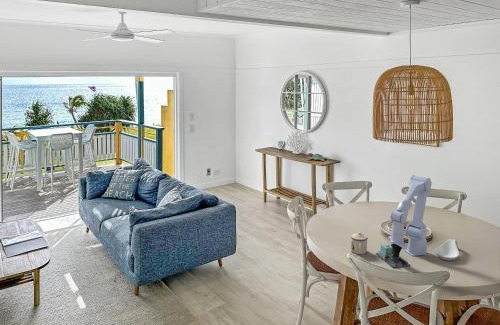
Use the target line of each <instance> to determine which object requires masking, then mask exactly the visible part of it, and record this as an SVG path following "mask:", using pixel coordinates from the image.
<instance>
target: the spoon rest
mask: <svg viewBox="0 0 500 325" xmlns="http://www.w3.org/2000/svg"><path fill="white" fill-rule="evenodd" d="M458 248H459V245H458V241H457V239H452V238H448V239H447V240H446V241H445V242H443V243H442V244H440V245H439V246H438V247H435V249H434V253H435V255H436V256H437V257H438V258H440V259H441V260H444V261H453V260H456V259H458V257H459V256H460V252H459V249H458Z"/></svg>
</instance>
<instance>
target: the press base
mask: <svg viewBox="0 0 500 325" xmlns="http://www.w3.org/2000/svg"><path fill="white" fill-rule="evenodd" d="M375 255H376V256H377V257H378V258H380V259H381V260H382V261H383V262H384V263H386V264H387V265H389V267H391V268H392V269H395V268H404V267H405V268H406V267H411V264H410V263H409V262H408V261H407V260H406V259H404V258H403V257H402V256H400V255H399V260H396V261H394V260H392V259H391V258H390V257H389V258H388V255H384V254H383V253H382V252H381V250H378V251H377V252H376V253H375Z"/></svg>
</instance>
